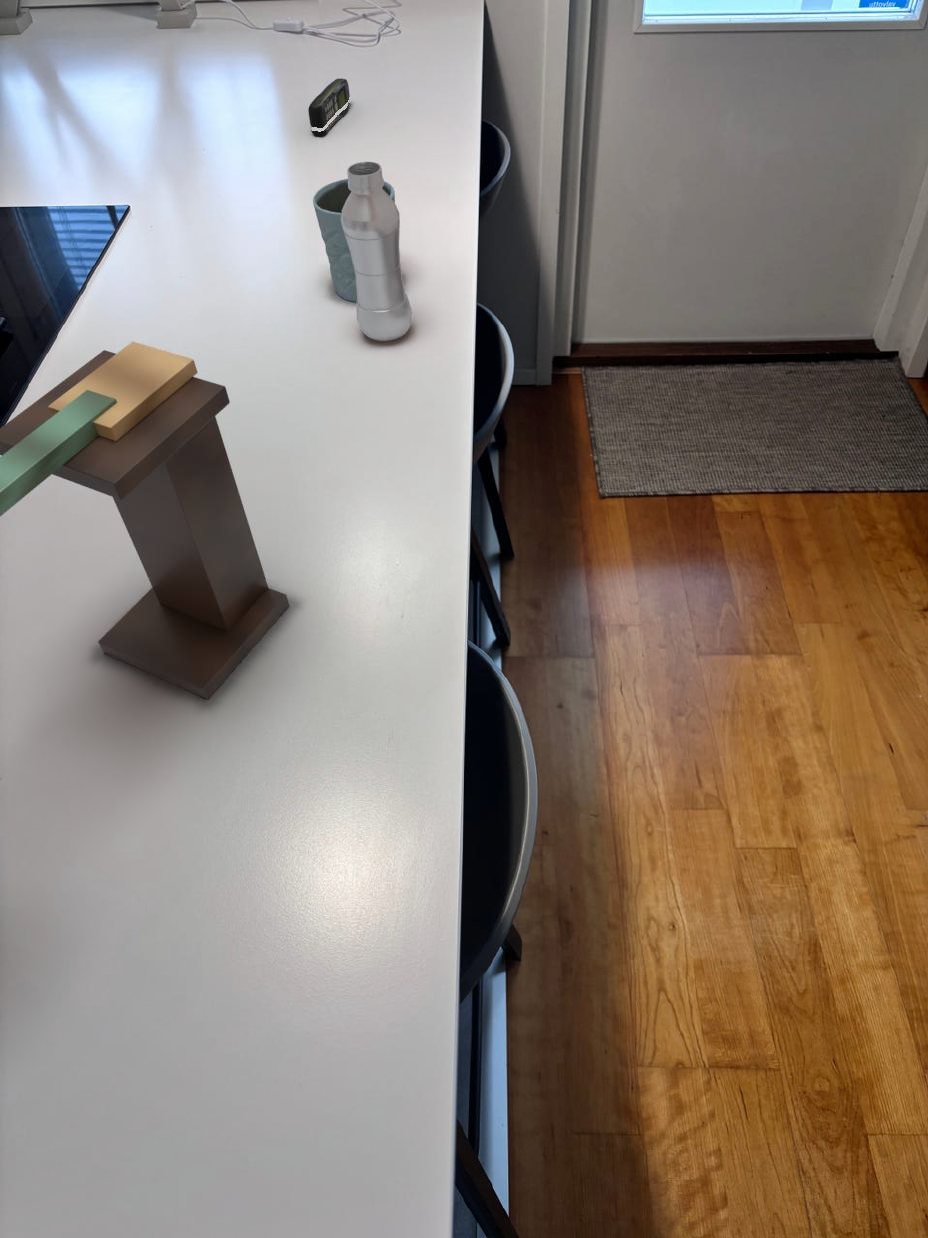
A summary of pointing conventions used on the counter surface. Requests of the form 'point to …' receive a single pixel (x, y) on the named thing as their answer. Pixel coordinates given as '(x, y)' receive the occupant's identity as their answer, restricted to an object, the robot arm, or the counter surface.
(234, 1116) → the counter surface
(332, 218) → the blue-grey embossed cup
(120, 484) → the brown pedestal stand
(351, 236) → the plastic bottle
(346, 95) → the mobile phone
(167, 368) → the spatula
